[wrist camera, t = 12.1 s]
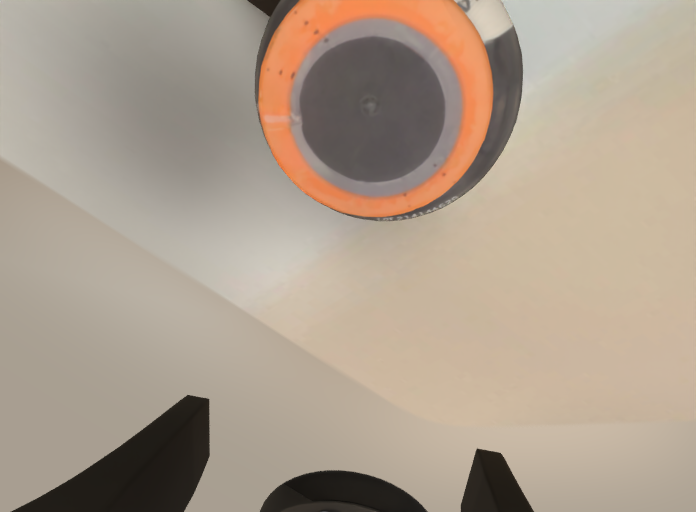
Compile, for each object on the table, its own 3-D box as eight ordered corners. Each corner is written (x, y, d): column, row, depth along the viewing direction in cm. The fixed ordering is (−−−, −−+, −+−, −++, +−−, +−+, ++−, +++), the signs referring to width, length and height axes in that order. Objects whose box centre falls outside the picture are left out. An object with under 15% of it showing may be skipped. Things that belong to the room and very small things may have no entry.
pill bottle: (433, -47, 16) (456, -225, 6) (508, 106, 18) (627, 171, 8) (293, 52, 18) (129, 43, 8) (372, 184, 20) (320, 320, 10)
